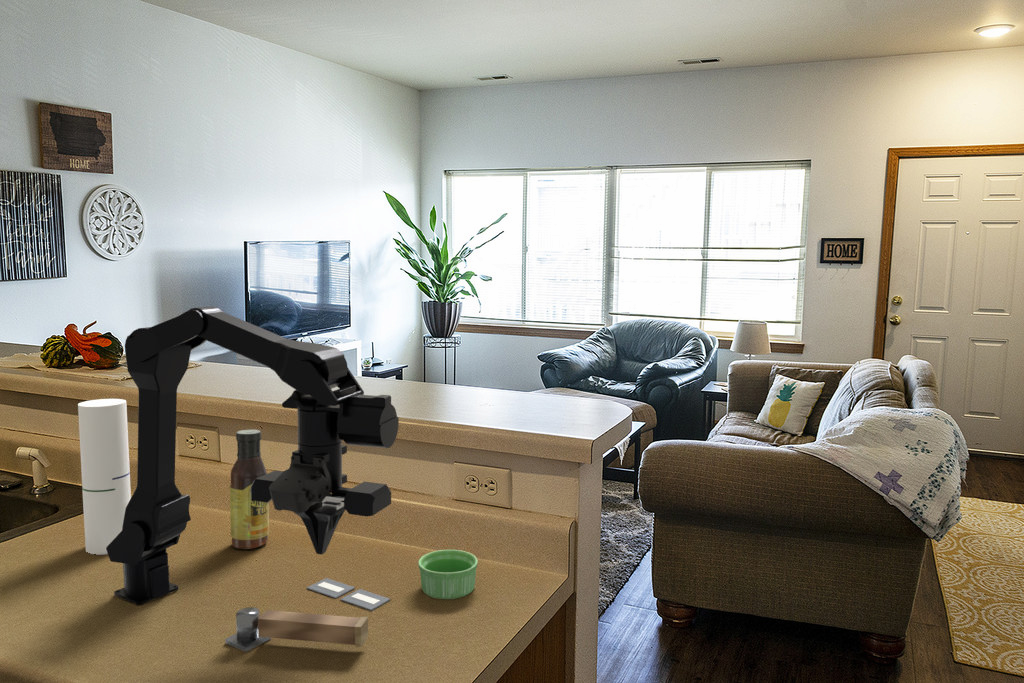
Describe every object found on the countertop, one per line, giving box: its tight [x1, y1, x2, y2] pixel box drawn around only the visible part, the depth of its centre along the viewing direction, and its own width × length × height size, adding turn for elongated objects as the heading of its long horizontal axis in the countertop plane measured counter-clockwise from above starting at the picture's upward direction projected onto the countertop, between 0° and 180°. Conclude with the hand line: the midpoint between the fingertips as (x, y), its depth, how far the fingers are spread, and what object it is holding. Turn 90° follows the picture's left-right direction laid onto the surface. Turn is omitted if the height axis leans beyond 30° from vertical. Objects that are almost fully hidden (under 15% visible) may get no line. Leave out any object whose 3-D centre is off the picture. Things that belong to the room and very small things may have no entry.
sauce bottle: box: [229, 429, 270, 550], centre depth 129 cm, size 6×6×20 cm
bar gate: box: [258, 609, 369, 648], centre depth 96 cm, size 14×3×3 cm, turn 82°
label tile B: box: [340, 588, 391, 612], centre depth 109 cm, size 6×4×1 cm, turn 58°
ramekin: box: [417, 549, 479, 600], centre depth 114 cm, size 9×9×4 cm
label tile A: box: [306, 577, 356, 599], centre depth 113 cm, size 6×4×1 cm, turn 58°
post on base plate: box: [224, 606, 272, 653], centre depth 97 cm, size 4×4×4 cm
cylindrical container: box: [77, 398, 132, 556], centre depth 127 cm, size 7×7×25 cm
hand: (321, 553), depth 102 cm, fingers closed
